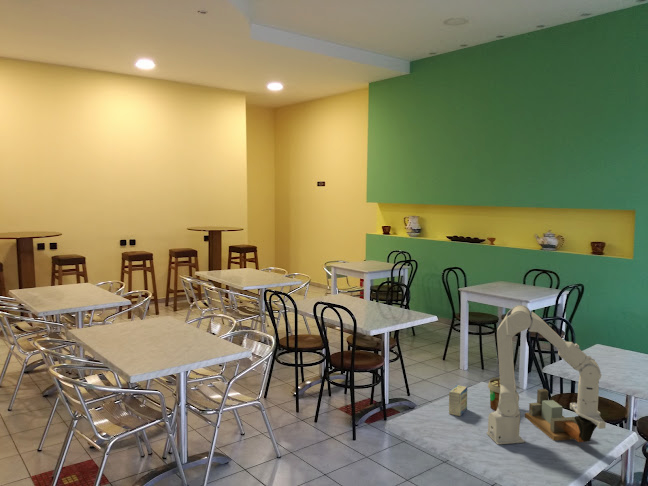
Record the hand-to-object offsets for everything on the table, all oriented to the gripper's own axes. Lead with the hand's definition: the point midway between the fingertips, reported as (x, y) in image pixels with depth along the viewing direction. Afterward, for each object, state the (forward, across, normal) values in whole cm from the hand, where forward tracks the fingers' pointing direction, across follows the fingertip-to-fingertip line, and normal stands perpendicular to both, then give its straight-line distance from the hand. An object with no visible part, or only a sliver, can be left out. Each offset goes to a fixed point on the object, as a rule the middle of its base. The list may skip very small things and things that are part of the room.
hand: (585, 440), depth 162 cm
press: (+3, +16, 0) cm, 17 cm away
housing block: (+2, +18, 0) cm, 19 cm away
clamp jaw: (+2, +6, 0) cm, 6 cm away
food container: (+4, +35, +12) cm, 38 cm away
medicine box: (+4, +33, +28) cm, 44 cm away
